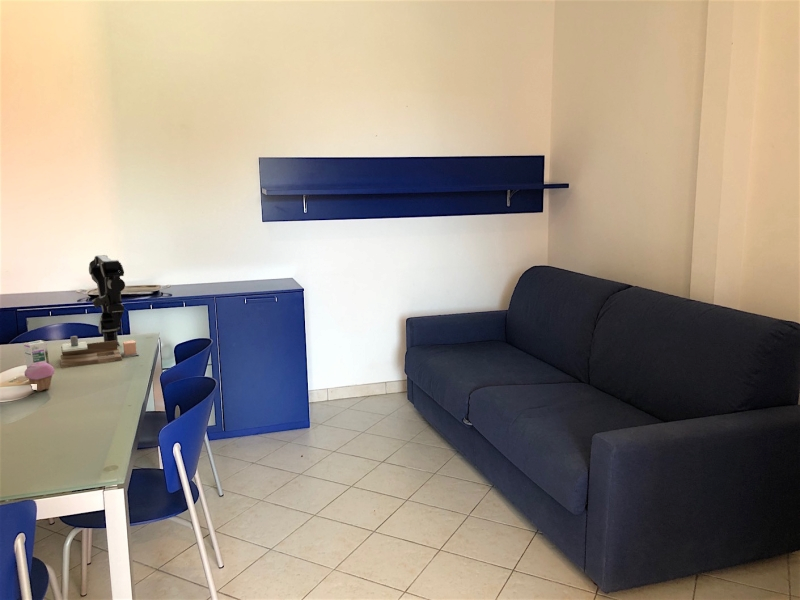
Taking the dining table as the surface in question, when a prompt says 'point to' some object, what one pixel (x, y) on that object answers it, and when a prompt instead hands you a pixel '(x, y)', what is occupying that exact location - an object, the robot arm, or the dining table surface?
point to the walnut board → (91, 354)
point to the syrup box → (36, 352)
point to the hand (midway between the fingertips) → (116, 324)
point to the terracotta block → (129, 347)
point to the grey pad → (129, 355)
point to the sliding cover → (74, 345)
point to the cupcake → (40, 375)
